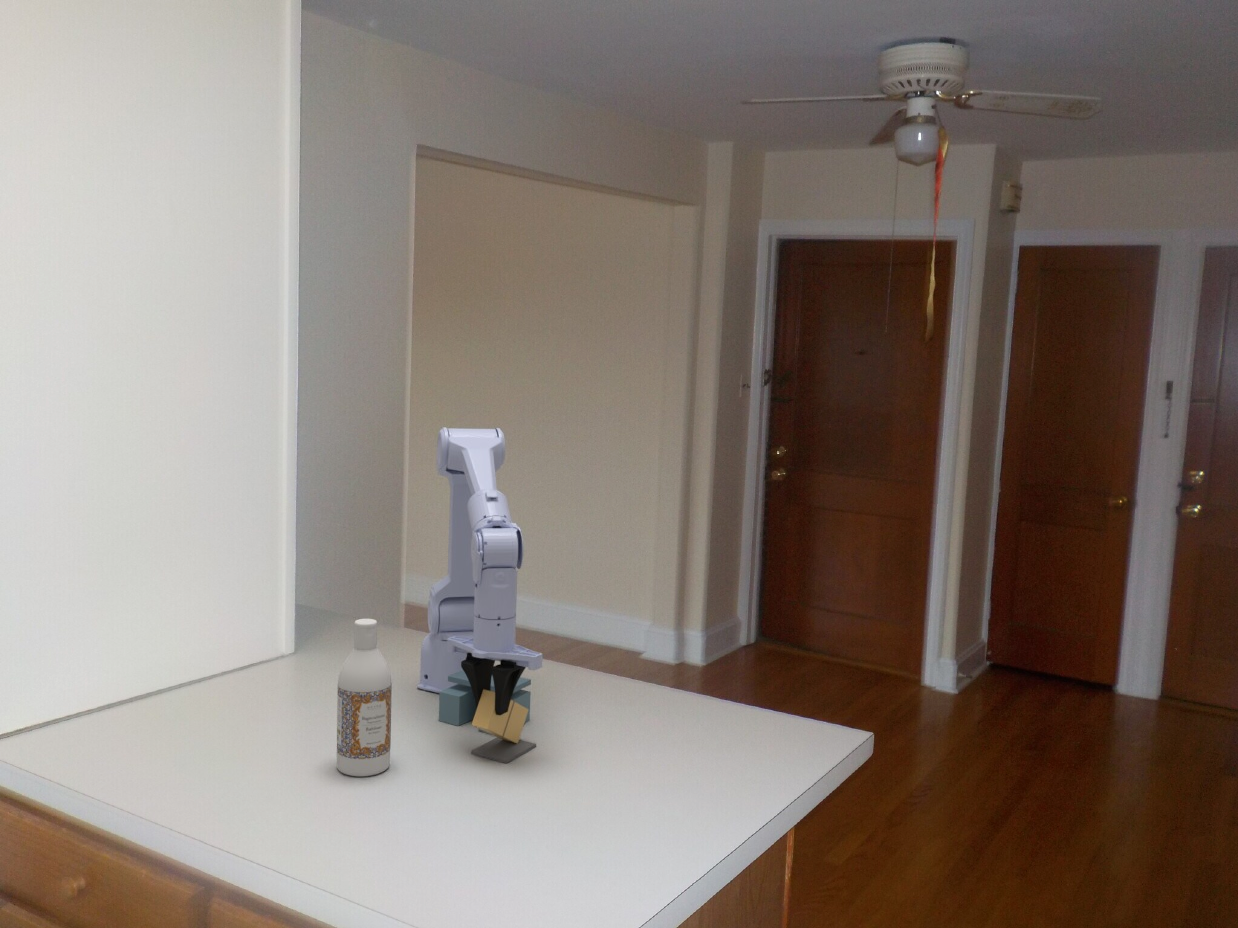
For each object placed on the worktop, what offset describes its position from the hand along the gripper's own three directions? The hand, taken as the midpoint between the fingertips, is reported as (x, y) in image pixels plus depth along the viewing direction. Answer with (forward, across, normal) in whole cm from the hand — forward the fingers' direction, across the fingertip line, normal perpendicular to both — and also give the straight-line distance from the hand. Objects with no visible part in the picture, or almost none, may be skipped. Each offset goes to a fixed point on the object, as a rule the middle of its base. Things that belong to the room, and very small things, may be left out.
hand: (492, 710), depth 150 cm
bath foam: (+7, -12, -13) cm, 18 cm away
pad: (+6, 0, +3) cm, 7 cm away
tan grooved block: (+4, 0, +1) cm, 4 cm away
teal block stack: (+6, -8, +11) cm, 15 cm away
